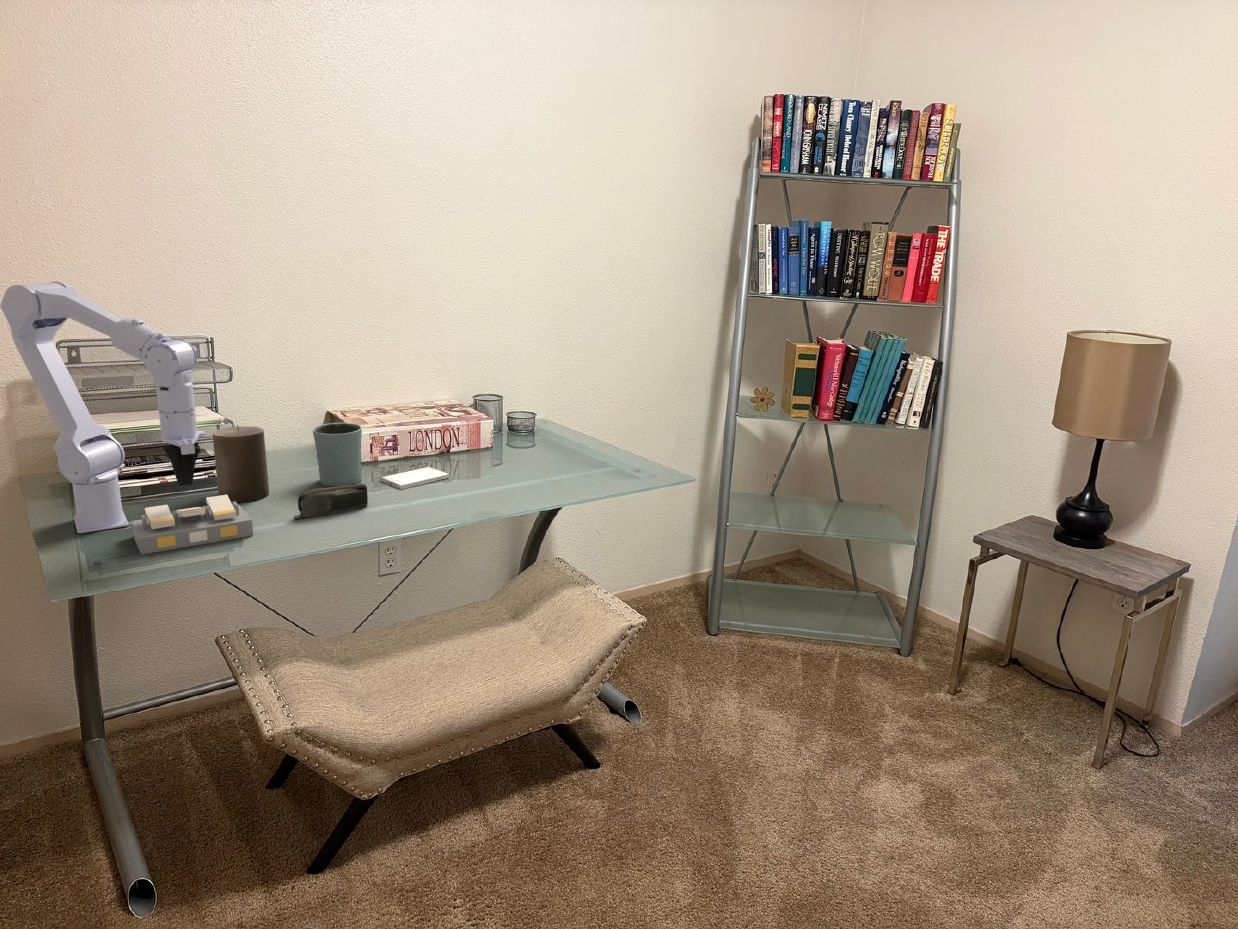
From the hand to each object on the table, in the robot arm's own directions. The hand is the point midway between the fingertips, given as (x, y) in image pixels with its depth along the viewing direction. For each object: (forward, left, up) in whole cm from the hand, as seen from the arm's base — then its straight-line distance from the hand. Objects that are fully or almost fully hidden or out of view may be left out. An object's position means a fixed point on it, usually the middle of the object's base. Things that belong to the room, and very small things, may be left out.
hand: (185, 484), depth 155 cm
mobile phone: (+2, +25, -10) cm, 27 cm away
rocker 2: (+3, 0, -5) cm, 5 cm away
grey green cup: (-17, +33, -9) cm, 38 cm away
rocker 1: (+3, -5, -5) cm, 7 cm away
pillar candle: (-17, +13, -9) cm, 24 cm away
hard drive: (-10, +47, -10) cm, 49 cm away
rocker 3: (+3, +5, -5) cm, 7 cm away
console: (+3, 0, -9) cm, 9 cm away
